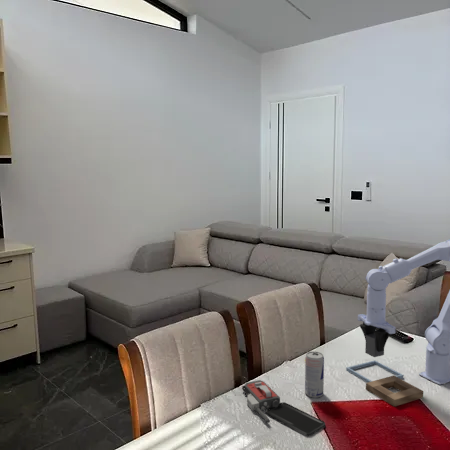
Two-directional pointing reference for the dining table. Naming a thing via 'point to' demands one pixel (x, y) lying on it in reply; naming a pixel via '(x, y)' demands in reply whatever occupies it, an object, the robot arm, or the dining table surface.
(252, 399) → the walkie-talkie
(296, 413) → the phone
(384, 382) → the socket block
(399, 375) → the frame
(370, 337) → the plug
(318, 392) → the energy drink
